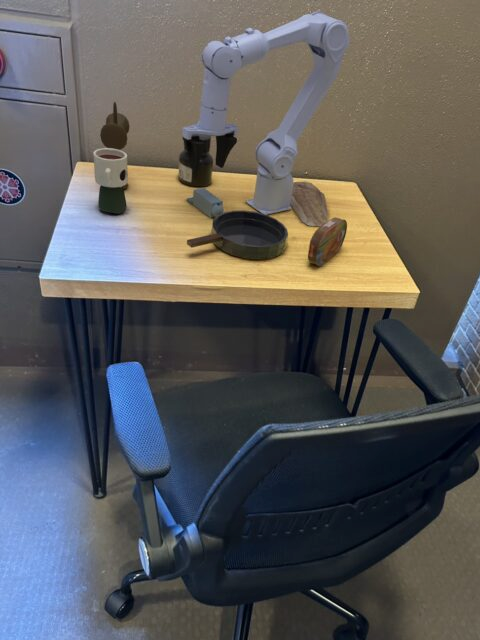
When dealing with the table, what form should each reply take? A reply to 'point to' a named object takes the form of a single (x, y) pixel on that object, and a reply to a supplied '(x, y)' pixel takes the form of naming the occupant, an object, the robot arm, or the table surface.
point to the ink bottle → (205, 166)
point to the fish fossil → (309, 203)
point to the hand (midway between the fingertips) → (206, 167)
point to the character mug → (111, 179)
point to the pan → (250, 234)
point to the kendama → (115, 131)
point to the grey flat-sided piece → (206, 202)
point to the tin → (327, 241)
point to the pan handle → (204, 240)
